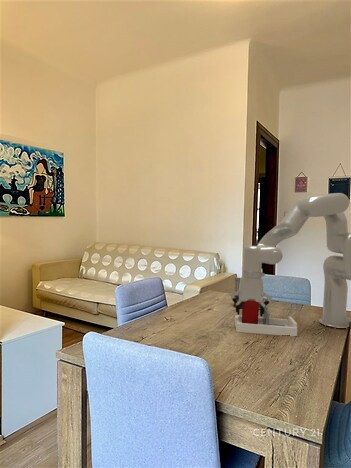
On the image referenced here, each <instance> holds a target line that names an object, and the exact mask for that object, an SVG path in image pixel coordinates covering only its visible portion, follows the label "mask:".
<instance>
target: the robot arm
mask: <svg viewBox="0 0 351 468" xmlns="http://www.w3.org/2000/svg"><path fill="white" fill-rule="evenodd" d="M349 207H350V199H349V197H348V196H347V195H346V194H345V193H342V192H333V193H324V194H319V195H317V196H307V197H306V196H305V197H300V198H299V199H297V200H295V202H294V203H293V205H291V207H290V209H288V212H286V214H285V215H284V216H283V218H282V219H281V221H280V222H279V223H278V224H276V225H275V226H274V227H272V229H270V230H269V231H268V232H267V233H265V235H263V237H261V239H260V240H259V241H258V243H257V245H246V246H245V247H244V249H243V263H242V264H243V265H242V267H243V268H242V276H241V277H240V278H241V279H240V283H239V290H238V291H236V292H235V291H234V292H231V293H230V294H229V297H230V298H231V301H232V302H233V304H234V303H235V304H236V307H235V313H236V315H238V316H240V310H241V308H240V305H239V304H240V303H241V302H242V301H244V302H245V301H247V300H248V299H250V300H255V301H256V302H258V303H260V304H261V306H259V315H260V316H259V317H263V314H264V308H266V306H268V305H269V304H270V302H271V300H272V298H273V297H272V296H271V295H270V294H267V293H266V292H264V281H263V278H262V277H265V275H266V274H265V272H262V266H263V265H262V264H267V265H276V264H278V263H280V262H281V261H282V260H283V256H284V255H283V252H282V250H281V249H280V248H278V247H276V246H277V245H279V244H280V243H281V242H283V241H284V240H287V239H290V238H293V237H295V236H296V235H298V233H299V232H300V231H301V229H302V227H304V225H305V223H306V222H307V221H308V219H310V218H320V217H323V218H324V220H325V221H324V222H325V225H326V227H325V228H326V248H327V250H328V251H330V252H332V253H335V254H340V255H335V254H334V255H330V256H328V257H326V258H325V259H324V262H323V264H322V265H323V267H322V269H323V275H324V277H323V278H324V287H323V303H322V317H321V318H319V319H318V321H319V322H320V323H322V324H324V325H328V326H333V327H350V323H351V317H350V316H347V305H348V304H347V303H348V292H349V291H348V288H349V287H348V286H349V285H348V282H347V280H348V281H351V232H349V229H348V220H347V216H346V214H345V212H346V211H347V209H349ZM341 254H342V255H341ZM237 294H238V298H239V299H238V300H236V299H235V298H234V296H235V295H237ZM264 297H265V298H266V300H265V301H264ZM319 322H318V323H319ZM320 323H319V324H320Z"/></svg>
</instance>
